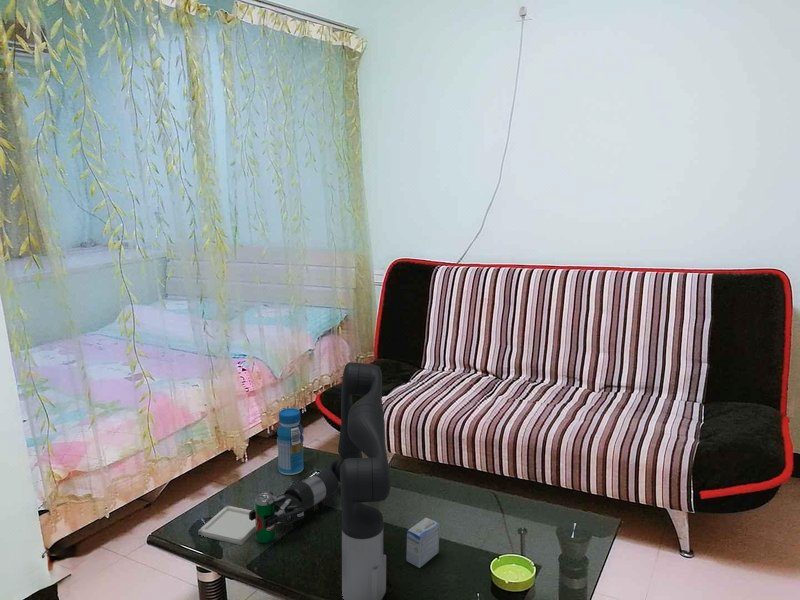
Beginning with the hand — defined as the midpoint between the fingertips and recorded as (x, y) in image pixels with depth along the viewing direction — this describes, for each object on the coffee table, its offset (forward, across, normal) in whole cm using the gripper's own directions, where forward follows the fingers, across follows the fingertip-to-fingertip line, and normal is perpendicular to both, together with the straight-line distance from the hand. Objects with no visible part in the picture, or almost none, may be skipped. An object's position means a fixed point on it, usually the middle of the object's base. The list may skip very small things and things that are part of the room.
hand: (257, 520), depth 153 cm
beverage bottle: (-32, -24, +7) cm, 41 cm away
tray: (-1, -11, +6) cm, 13 cm away
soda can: (-3, 0, +7) cm, 7 cm away
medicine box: (-22, +36, +7) cm, 43 cm away
